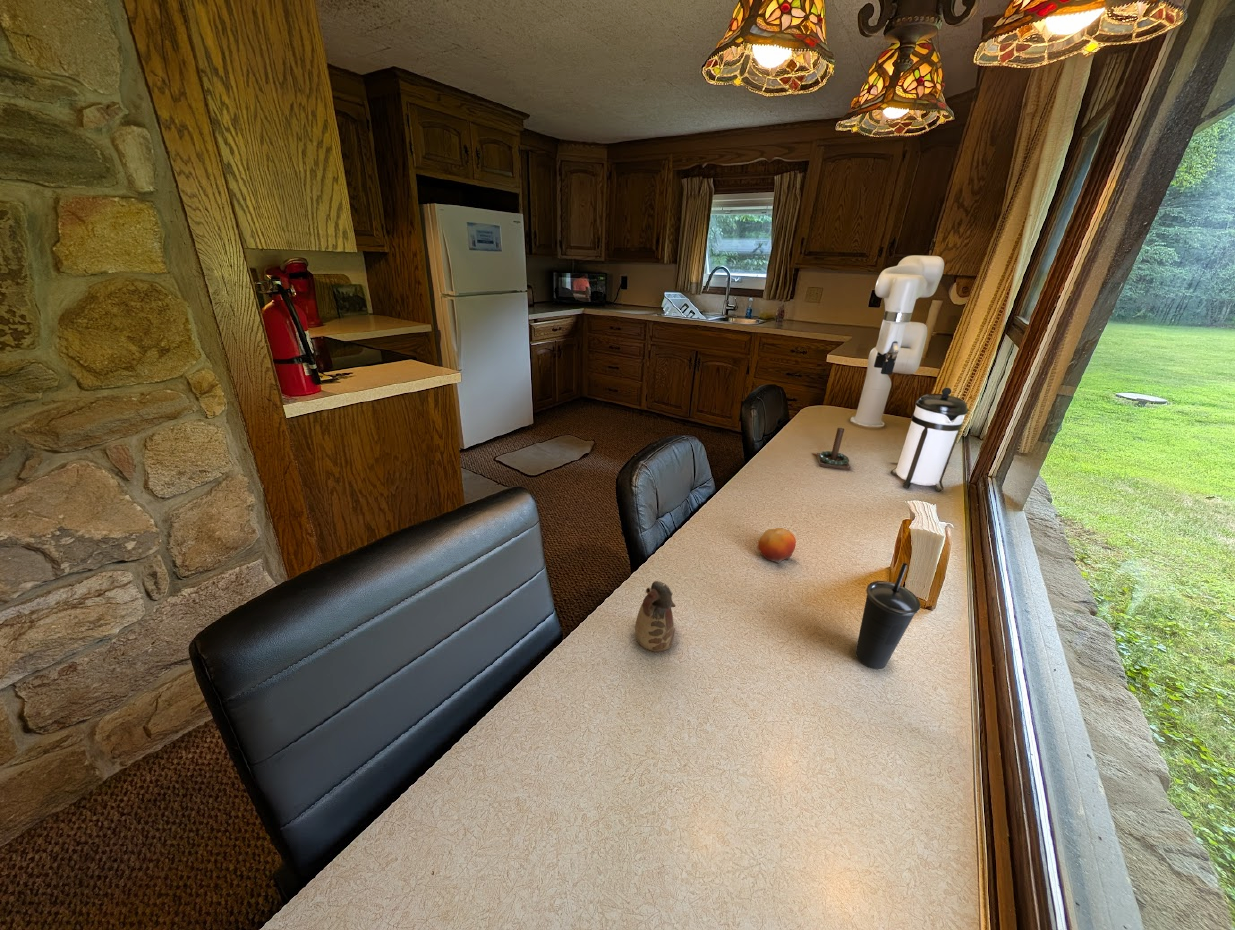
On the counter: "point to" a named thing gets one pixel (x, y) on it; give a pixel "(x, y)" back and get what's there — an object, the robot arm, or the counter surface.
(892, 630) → the drinking cup
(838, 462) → the ring
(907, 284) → the robot arm
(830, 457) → the brown peg stand
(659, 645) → the figurine
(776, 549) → the fruit
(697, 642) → the counter surface
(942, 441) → the coffee press
